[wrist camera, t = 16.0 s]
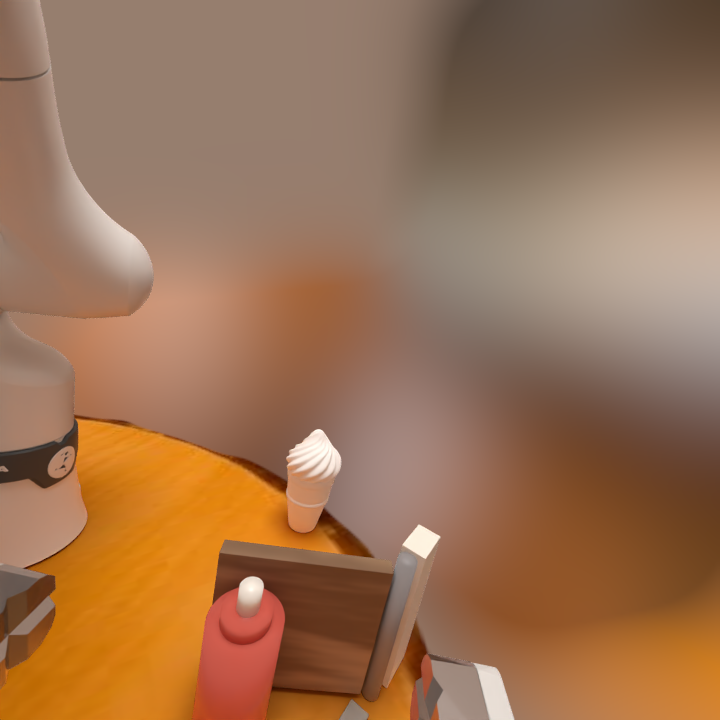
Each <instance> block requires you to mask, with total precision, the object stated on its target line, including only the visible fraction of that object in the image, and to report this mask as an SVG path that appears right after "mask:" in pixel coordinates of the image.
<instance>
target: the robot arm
mask: <svg viewBox="0 0 720 720" xmlns="http://www.w3.org/2000/svg"><path fill="white" fill-rule="evenodd" d="M153 276H154V275H153V267H152V263H151V260H150V257H149V255H148V253H147V251H146V249H145V248H144V247H143V245H142V244H141V242H140V241H139V240H138V239H137V238H136V237H135V236H134V235H133V234H131V233H130V232H128V231H126V230H125V229H124V228H122V227H121V226H120V225H118V224H117V223H115V221H113V220H112V219H111V218H110V217H109V216H108V215H107V214H106V213H104V211H103V210H102V209H101V208H100V207H99V206H98V205H97V204H96V203H95V201H94V200H93V199H92V198H91V196H90V195H89V194H88V193H87V191H86V190H85V188H84V187H83V185H82V184H81V182H80V181H79V179H78V177H77V175H76V174H75V172H74V170H73V168H72V165H71V163H70V161H69V158H68V155H67V151H66V147H65V143H64V139H63V135H62V130H61V126H60V120H59V115H58V110H57V104H56V98H55V92H54V85H53V78H52V70H51V62H50V56H49V49H48V43H47V36H46V30H45V26H44V20H43V15H42V10H41V5H40V1H39V0H0V689H1V688H2V687H3V686H4V685H5V684H6V680H7V676H8V672H9V669H11V668H12V667H14V666H16V665H18V664H20V663H21V662H23V661H25V660H27V659H28V658H29V657H30V656H31V655H32V654H33V652H34V651H35V650H36V649H37V648H38V647H39V646H40V644H41V643H42V641H43V640H44V638H45V636H46V635H47V633H48V632H49V630H50V628H51V626H52V623H53V620H54V617H55V604H54V603H53V601H52V600H51V599H50V597H49V595H50V594H51V593H52V592H53V591H54V590H55V576H52V575H48V574H43V573H39V572H35V571H31V570H27V569H23V568H24V567H27V566H30V565H32V564H35V563H37V562H39V561H41V560H43V559H45V558H47V557H49V556H51V555H53V554H55V553H56V552H58V551H59V550H61V549H62V548H64V547H65V546H67V545H68V544H69V543H70V542H72V541H73V540H74V539H75V538H76V537H77V536H78V535H79V533H80V532H81V531H82V530H83V528H84V526H85V524H86V522H87V516H88V515H87V510H86V507H85V505H84V502H83V499H82V496H81V487H80V484H79V482H78V475H77V469H76V463H75V461H76V456H77V451H78V423H77V421H76V420H75V418H74V389H75V372H74V369H73V367H72V365H71V364H70V362H69V361H68V359H66V357H64V355H62V354H61V353H60V352H59V351H57V350H56V349H54V348H53V347H50V346H48V345H46V344H44V343H42V342H40V341H37V340H35V339H32V338H31V337H29V336H27V335H26V334H25V333H23V332H22V331H21V330H20V329H19V328H18V327H17V326H16V325H15V324H14V323H13V322H12V320H11V318H10V317H9V314H8V311H10V312H20V313H30V314H40V315H50V316H51V315H52V316H61V317H71V318H82V319H86V318H106V317H120V316H130V315H131V314H133V313H134V312H135V311H137V310H138V309H139V308H140V307H141V306H142V305H143V304H144V303H145V301H146V300H147V298H148V297H149V295H150V292H151V290H152V286H153V278H154V277H153ZM421 671H422V677H421V678H420V679H419V680H417V681H416V682H415V686H414V689H413V693H412V701H411V709H410V720H514V716H513V713H512V710H511V707H510V704H509V700H508V697H507V694H506V691H505V688H504V685H503V681H502V679H501V675H500V673H499V672H498V670H497V668H494V667H490V666H485V665H481V664H475V663H471V662H469V661H464V660H459V659H454V658H449V657H443V656H438V655H433V654H428V653H427V654H426V655H425V656H424V658H423V661H422V664H421Z"/></svg>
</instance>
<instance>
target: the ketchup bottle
mask: <svg viewBox="0 0 720 720" xmlns="http://www.w3.org/2000/svg"><path fill="white" fill-rule="evenodd" d="M284 623H285V614H284V609H283V606H282V604H281V602H280V601H279V599H278V598H277V597H276V596H275V595H274V594H273V593H271V592H270V591H268V590H266V589H264V584H263V581H262V580H261V579H260V578H258V577H253V576H252V577H247V578H245V579H244V580H243V581H242V582H241V583H240V586H239V587H238V588H236V589H233V590H231V591H229V592H227V593H225V594H224V595H222V596H221V597H220V598H219V599H217V600H216V602H215V603H214V604H213V605H212V607H211V608H210V610H209V612H208V614H207V617H206V621H205V627H204V635H203V642H202V650H201V657H200V665H199V673H198V680H197V688H196V695H195V703H194V710H193V718H192V720H265V719H266V714H267V709H268V704H269V699H270V694H271V689H272V684H273V679H274V674H275V669H276V664H277V659H278V654H279V649H280V644H281V639H282V634H283V629H284Z"/></svg>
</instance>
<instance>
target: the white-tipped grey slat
mask: <svg viewBox="0 0 720 720" xmlns="http://www.w3.org/2000/svg"><path fill="white" fill-rule="evenodd" d="M439 540H440V536H438V535H437V534H435V533H433V532H431V531H429V530H428V529H426V528H424V527H423V526H421V525H418V526H417V528H416V529H415V530H414V531H413V532H412V534H411V535H410V536H409V537H408V538H407V540H406V541H405V542H404V544H403V545H402V548H401V551H400V554H399V555H398V558H397V562H396V566H395V569H394V575H393V578H392V582H391V585H390V589H389V592H388V596H387V600H386V603H385V607H384V610H383V614H382V618H381V621H380V625H379V628H378V632H377V636H376V639H375V643H374V646H373V650H372V654H371V657H370V661H369V664H368V668H367V671H366V675H365V679H364V682H363V686H362V689H361V691H362V695H363V696H364V698H365V699H366V700H368V701H375V700H376V699H377V698H378V696H379V693H380V689H381V686H382V685H383V686H384V687H385V688H387V687H388V685H389V683H390V681H391V680H392V678H393V676H394V674H395V672H396V670H397V669H398V667H399V665H400V663H401V661H402V659H403V658H404V654H405V651H406V648H407V645H408V641H409V638H410V635H411V632H412V628H413V625H414V622H415V618H416V615H417V612H418V609H419V605H420V602H421V599H422V596H423V592H424V589H425V586H426V583H427V579H428V576H429V573H430V570H431V566H432V563H433V560H434V557H435V553H436V550H437V547H438V544H439ZM368 717H369V714H368V713H366V712H365V711H364V710H363V709H362V708H361V707H360V706H359V705H358V704H357V703H356V702H355V701H353V700H352V699H351V701H350V703H349V704H348V706H347V707H346V709H345V711H344V712H343V714H342V715H341V717H340V719H339V720H367V719H368Z"/></svg>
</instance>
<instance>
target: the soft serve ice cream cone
mask: <svg viewBox="0 0 720 720" xmlns="http://www.w3.org/2000/svg"><path fill="white" fill-rule="evenodd" d="M289 454H290V455H289V456H288V457H287V458H286V460H287V461H288V462H289V464H288V465H287V468H288V487H287V490H286V495H287V500H288V523H289V526H290V527H291V528H292V529H293V530H294V531H296V532H300V533H307V532H310V531H312V530H313V529H314V528H315V526H316V524H317V521H318V519H319V517H320V515H321V513H322V510H323V508H324V506H325V504H326V503H327V502H328V500H329V493H330V491H331V487H332V484H333V483H334V481H335V476H336V475H337V474H338V472H339V471H340V468H341V457H340V455H339V453H338V451H337V450H336V449H335V448H334V447H333V446H332V444H331V442H330V441H329V439H328V438H327V436H326V435H325V433H324V432H323V431H322V430H320V429H318V430H315V431H314V432H312V433H311V434H310V435H309V437H307V438H306V439H304V441H303V442H302V443H301V444H297V445H296V446H295V449H291V450H290V451H289Z"/></svg>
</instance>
